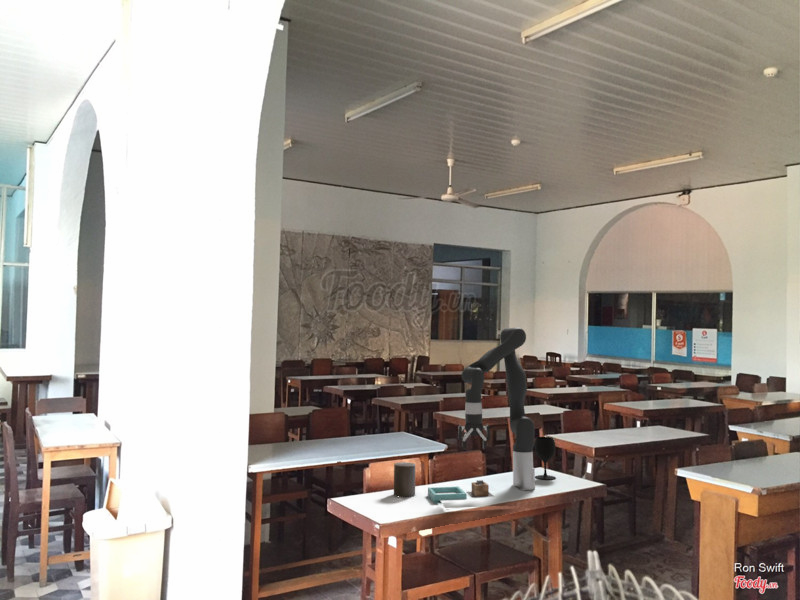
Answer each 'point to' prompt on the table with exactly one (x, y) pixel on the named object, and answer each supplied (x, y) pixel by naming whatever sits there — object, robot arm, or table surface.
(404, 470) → the pillar candle
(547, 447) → the wine glass
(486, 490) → the walnut collar
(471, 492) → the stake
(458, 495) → the tray
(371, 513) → the table surface
